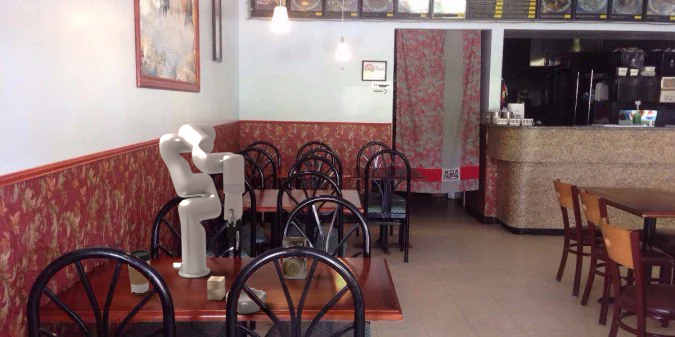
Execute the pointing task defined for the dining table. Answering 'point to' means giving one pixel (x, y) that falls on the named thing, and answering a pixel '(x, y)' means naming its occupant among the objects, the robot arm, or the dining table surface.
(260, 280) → the dining table surface
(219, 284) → the maple block
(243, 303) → the dish
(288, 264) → the coffee box
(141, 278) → the coffee cup
